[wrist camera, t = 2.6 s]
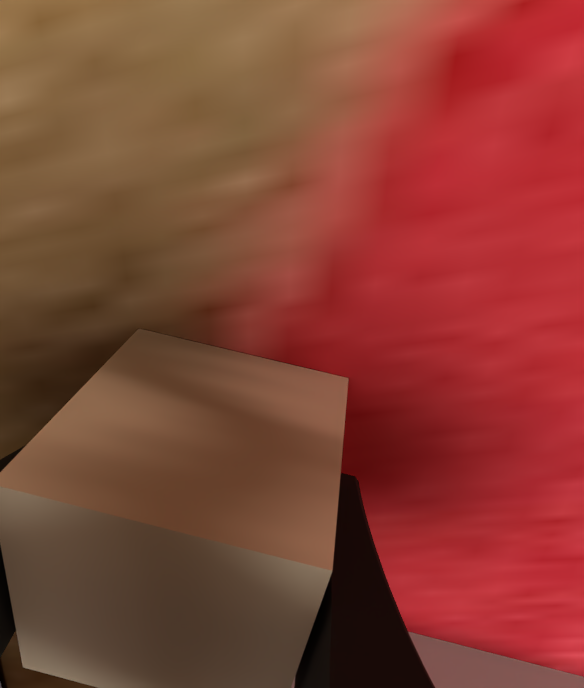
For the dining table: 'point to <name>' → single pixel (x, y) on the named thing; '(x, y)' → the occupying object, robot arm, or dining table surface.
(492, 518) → the dining table surface
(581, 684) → the grey block
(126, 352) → the birch cube
